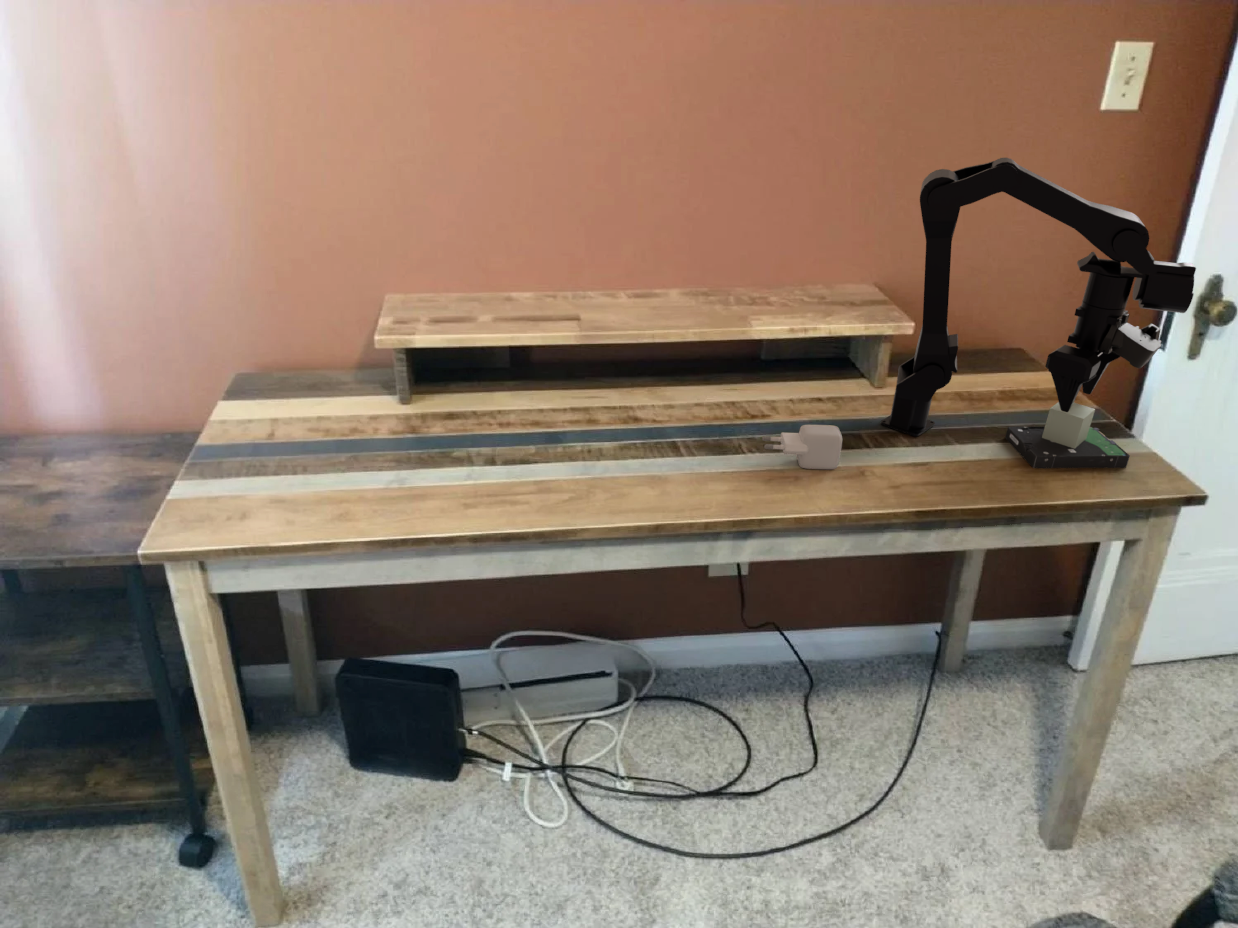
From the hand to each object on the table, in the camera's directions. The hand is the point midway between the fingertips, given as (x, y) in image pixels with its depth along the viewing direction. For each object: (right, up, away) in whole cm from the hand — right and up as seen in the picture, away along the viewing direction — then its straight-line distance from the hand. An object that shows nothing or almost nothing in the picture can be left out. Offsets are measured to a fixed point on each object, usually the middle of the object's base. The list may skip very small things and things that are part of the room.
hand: (1075, 402), depth 147 cm
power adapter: (-43, -10, -3) cm, 44 cm away
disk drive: (0, -8, +3) cm, 9 cm away
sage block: (0, -5, +3) cm, 6 cm away
